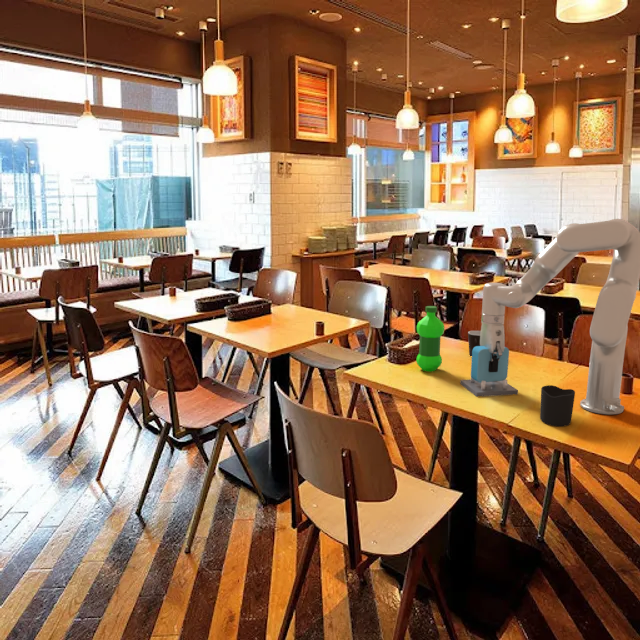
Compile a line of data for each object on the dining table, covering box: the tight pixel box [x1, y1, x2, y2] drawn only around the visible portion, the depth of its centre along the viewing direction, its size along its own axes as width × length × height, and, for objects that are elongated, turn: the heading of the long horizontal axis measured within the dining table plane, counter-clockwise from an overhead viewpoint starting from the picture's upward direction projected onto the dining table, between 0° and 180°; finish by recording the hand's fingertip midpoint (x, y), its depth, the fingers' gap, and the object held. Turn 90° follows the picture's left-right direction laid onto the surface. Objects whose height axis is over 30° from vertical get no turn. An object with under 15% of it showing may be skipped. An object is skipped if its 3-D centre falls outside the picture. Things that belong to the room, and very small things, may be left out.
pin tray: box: [459, 377, 519, 398], centre depth 209 cm, size 14×15×4 cm
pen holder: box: [539, 384, 576, 428], centre depth 179 cm, size 9×9×10 cm
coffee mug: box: [467, 330, 481, 357], centre depth 250 cm, size 12×9×10 cm
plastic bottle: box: [415, 305, 445, 373], centre depth 230 cm, size 10×10×25 cm
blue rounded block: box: [470, 346, 510, 383], centre depth 208 cm, size 12×4×12 cm, turn 106°
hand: (489, 369), depth 208 cm, fingers closed on blue rounded block, 4 cm apart
